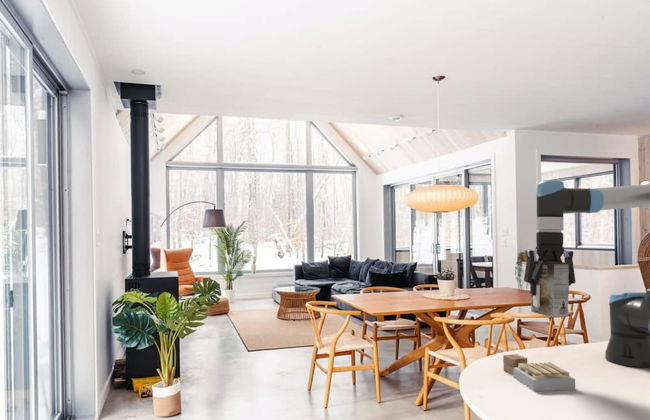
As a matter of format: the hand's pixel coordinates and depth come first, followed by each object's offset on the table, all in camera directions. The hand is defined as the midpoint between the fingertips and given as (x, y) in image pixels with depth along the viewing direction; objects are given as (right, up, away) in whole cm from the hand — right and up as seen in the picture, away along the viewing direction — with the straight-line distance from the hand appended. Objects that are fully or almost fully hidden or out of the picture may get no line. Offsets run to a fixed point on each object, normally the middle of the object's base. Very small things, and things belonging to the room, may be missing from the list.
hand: (549, 306), depth 147 cm
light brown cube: (-9, -21, +4) cm, 23 cm away
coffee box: (0, -3, 0) cm, 3 cm away
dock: (-5, -21, -7) cm, 23 cm away
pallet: (-5, -18, -7) cm, 20 cm away
